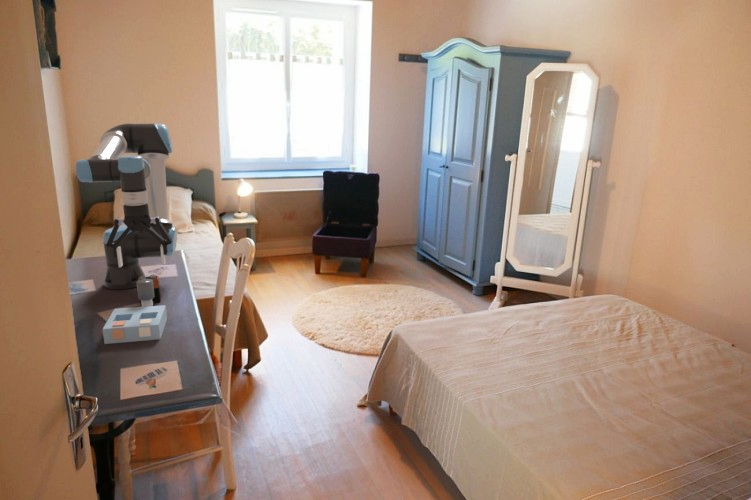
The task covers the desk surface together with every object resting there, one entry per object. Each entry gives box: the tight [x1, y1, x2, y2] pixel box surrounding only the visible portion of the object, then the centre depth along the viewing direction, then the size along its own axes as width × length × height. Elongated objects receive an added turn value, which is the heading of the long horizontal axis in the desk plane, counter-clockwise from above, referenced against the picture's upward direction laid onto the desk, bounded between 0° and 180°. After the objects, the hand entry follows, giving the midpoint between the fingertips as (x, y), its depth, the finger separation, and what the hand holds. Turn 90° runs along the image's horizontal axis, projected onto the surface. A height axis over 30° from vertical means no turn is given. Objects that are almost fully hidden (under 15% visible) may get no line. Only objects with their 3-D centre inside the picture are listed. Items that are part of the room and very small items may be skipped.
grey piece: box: [136, 279, 155, 307], centre depth 180 cm, size 5×5×12 cm
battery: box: [138, 274, 162, 304], centre depth 191 cm, size 4×7×10 cm, turn 111°
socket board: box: [102, 304, 168, 345], centre depth 167 cm, size 16×16×5 cm
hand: (142, 265), depth 176 cm, fingers open, 13 cm apart
